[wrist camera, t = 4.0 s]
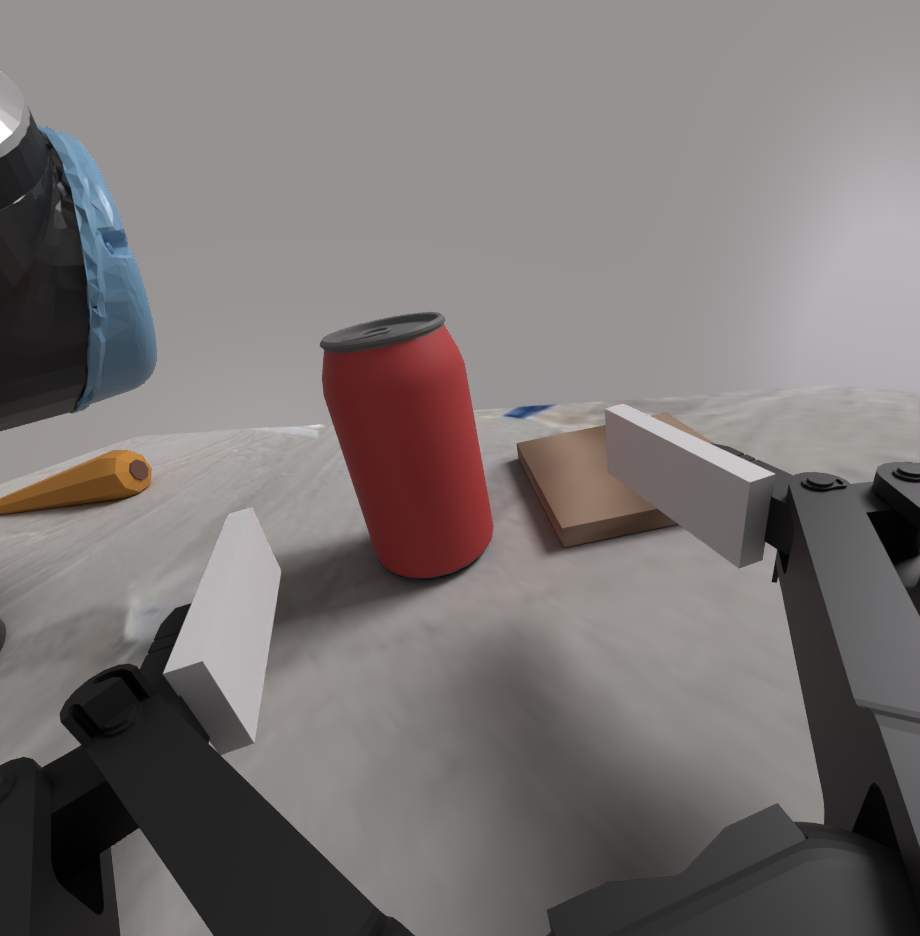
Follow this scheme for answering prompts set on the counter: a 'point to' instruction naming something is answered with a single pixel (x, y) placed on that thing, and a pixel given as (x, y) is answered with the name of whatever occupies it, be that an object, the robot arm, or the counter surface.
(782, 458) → the counter surface
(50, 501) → the carrot
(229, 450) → the counter surface
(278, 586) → the robot arm
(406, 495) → the beer can
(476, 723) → the counter surface
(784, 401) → the counter surface
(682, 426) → the walnut board
